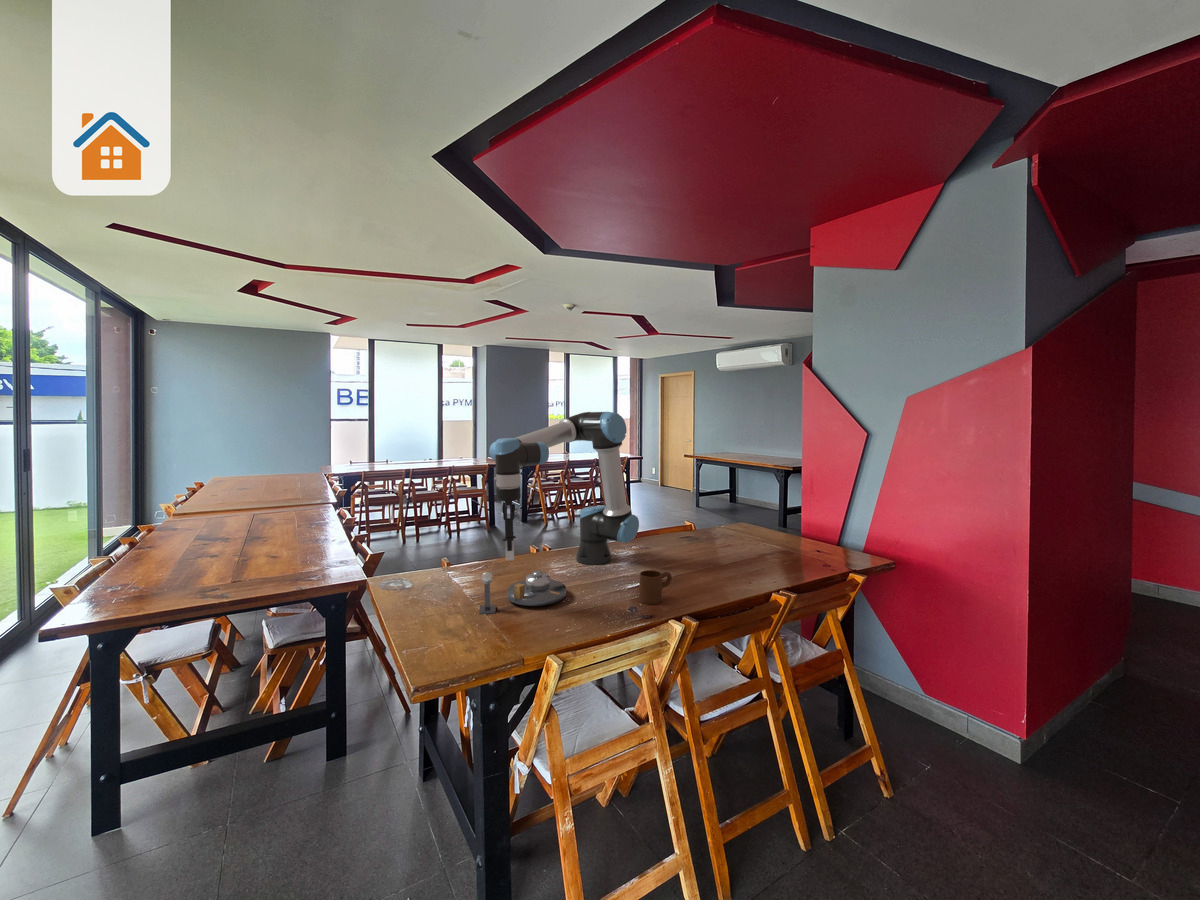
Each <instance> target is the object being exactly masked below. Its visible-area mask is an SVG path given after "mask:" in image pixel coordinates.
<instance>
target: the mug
mask: <svg viewBox="0 0 1200 900" xmlns="http://www.w3.org/2000/svg"><path fill="white" fill-rule="evenodd" d="M664 578H666V580H665V581H663V579H664ZM672 578H673V577H672V574H671V572H670V571H664V572H662V573H661V572H660V571H658V570H651V569H650V570H649V569H648V570H642V571H641V572H640V573H639V584H638V585H639V586H638V587H639V601H640V602H641V603H642V604H644V605H658V604H660V603H661V602H662V600H663V589H664V588H666V587H668V586H669V585H670V584H671V583H672V580H673V579H672Z"/></svg>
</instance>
